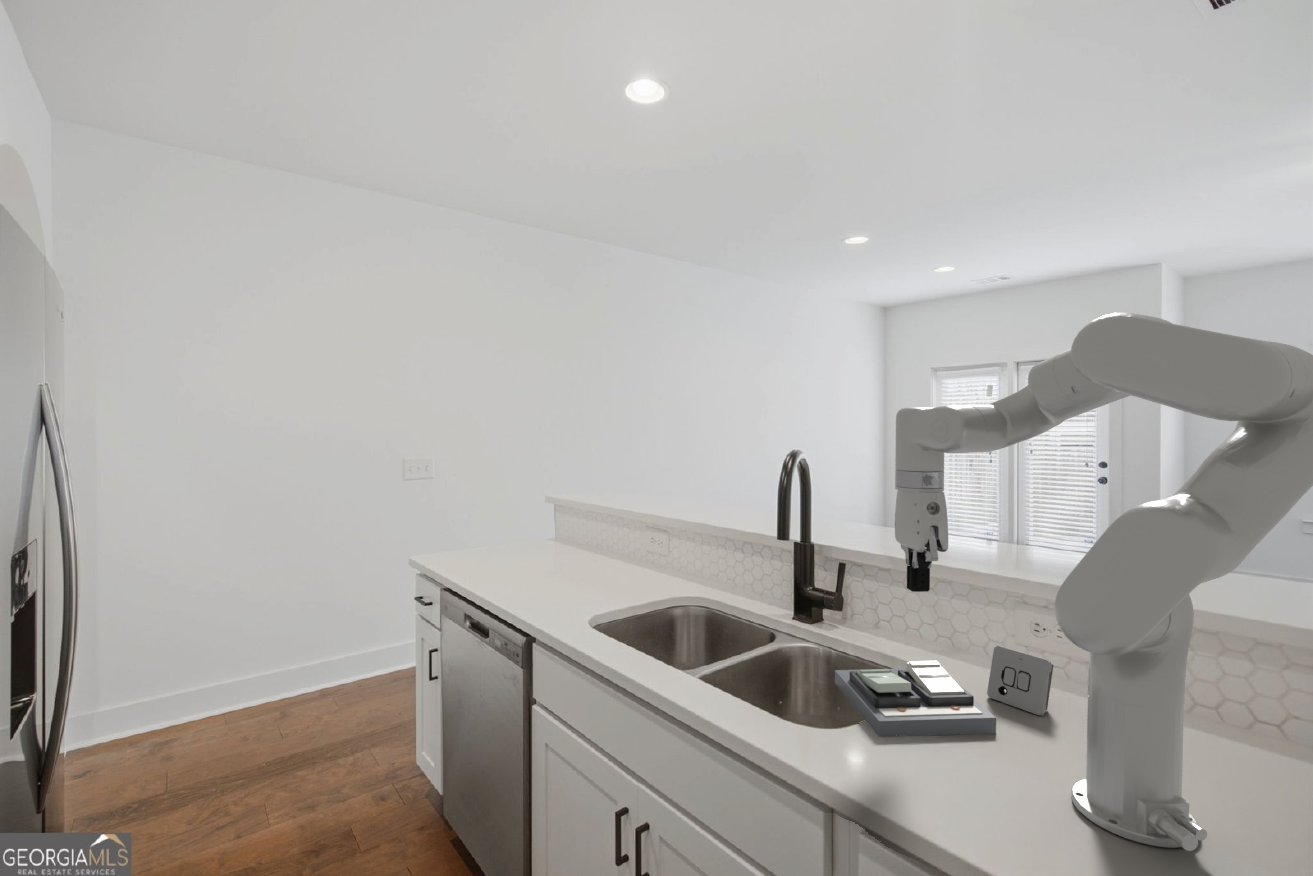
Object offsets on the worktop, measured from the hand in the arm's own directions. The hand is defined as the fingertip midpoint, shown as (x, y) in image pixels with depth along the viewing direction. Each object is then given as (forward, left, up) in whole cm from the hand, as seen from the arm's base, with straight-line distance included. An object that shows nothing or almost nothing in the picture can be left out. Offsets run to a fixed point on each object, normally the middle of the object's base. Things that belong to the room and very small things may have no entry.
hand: (918, 590), depth 105 cm
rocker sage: (+3, +5, -17) cm, 17 cm away
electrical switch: (+3, -20, -21) cm, 29 cm away
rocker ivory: (+3, -4, -17) cm, 17 cm away
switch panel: (+3, 0, -21) cm, 21 cm away
